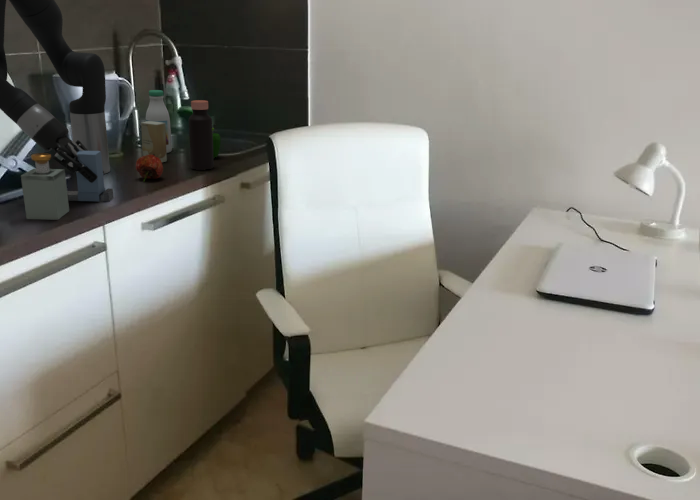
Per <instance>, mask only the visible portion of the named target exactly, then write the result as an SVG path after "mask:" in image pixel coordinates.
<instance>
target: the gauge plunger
mask: <svg viewBox="0 0 700 500" xmlns="http://www.w3.org/2000/svg"><path fill="white" fill-rule="evenodd" d="M30 156H31V161H34V163H35V164H34V165H35V169H36V173H37V174H44V175H49V174H50V169H51V168H50V162H49V161H50V160H52V154H51V153H50V152H49V153H48V152H37V153H33V154H31V155H30Z"/></svg>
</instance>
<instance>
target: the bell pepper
mask: <svg viewBox="0 0 700 500" xmlns="http://www.w3.org/2000/svg"><path fill="white" fill-rule="evenodd" d="M214 130H215V128H214V127H212V131H214ZM221 139H222V138H221V135H220V134H219V133H215V132H213V158H214V159H216V158H218V155H219V154H220V150H221V149H220V148H221V145H222V143H221V141H222V140H221ZM215 157H216V158H215Z"/></svg>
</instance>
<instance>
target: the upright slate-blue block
mask: <svg viewBox="0 0 700 500" xmlns="http://www.w3.org/2000/svg"><path fill="white" fill-rule="evenodd" d="M77 153H78V154H77V155H78V156H79V157H80V160H81V161H82V162H83V163H84V164H85V167H86V166H87V167H88V168H89V169H90V170H91V171H92V172H94V173H95V174H96V175H97V176H98V178H97V179H96V180H95V181H94V182H93V183H91V182H89V181H88V180H87V179H86V178H85V177H84V176H83V175H82V174H80V172H79V173H77V172H76V171H75V174H76V183H77V191H78V201H77V202H101V201H100V199H99V195H100V194H101V193H102V192H104V191H105V190H106V187H105V179H104V174H103V167H102V157H101V151H79V152H77Z"/></svg>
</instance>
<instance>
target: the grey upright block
mask: <svg viewBox="0 0 700 500" xmlns="http://www.w3.org/2000/svg"><path fill="white" fill-rule="evenodd" d="M20 178H21V179H20V181H21V187H22V195H23V202H24V209H25V216H26V217H25V218H26V220H52V221H53V220H54V221H55V220H57V221H58V220H60V219H61V218H63V217H64V216H66V214H68V213H69V212H70V206H69V201H68V195H67V191H68V188H67V187H68V186H67V179H66V168H63V169H62V168H50V174H49V175H44V174H37V173H36V168H32V169H31V170H28V171H27V172H25V173H23V174H21V175H20Z"/></svg>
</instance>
